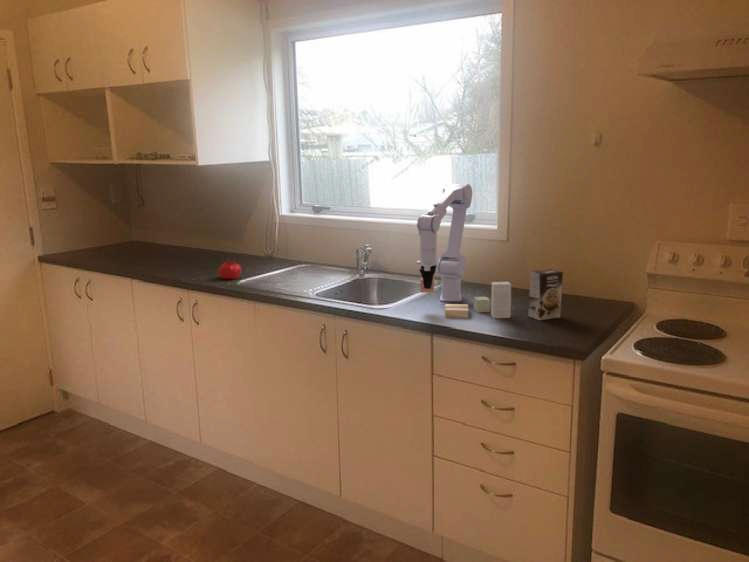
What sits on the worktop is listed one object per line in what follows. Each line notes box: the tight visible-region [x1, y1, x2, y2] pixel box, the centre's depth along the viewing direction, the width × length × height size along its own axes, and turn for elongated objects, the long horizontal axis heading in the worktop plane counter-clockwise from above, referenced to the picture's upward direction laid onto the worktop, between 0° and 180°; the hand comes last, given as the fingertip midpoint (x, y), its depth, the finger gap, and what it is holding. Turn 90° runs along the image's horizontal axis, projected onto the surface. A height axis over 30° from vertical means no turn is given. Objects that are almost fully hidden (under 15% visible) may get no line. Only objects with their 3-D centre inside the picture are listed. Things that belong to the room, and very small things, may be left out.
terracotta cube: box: [420, 277, 435, 294], centre depth 221 cm, size 4×4×4 cm
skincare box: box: [490, 281, 512, 319], centre depth 213 cm, size 6×4×12 cm
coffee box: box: [527, 268, 564, 321], centre depth 212 cm, size 9×6×16 cm
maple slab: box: [444, 303, 469, 319], centre depth 218 cm, size 8×8×3 cm
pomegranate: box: [218, 257, 242, 280], centre depth 279 cm, size 10×10×9 cm
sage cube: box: [473, 296, 491, 313], centre depth 222 cm, size 4×4×4 cm
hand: (428, 286), depth 221 cm, fingers closed on terracotta cube, 4 cm apart
